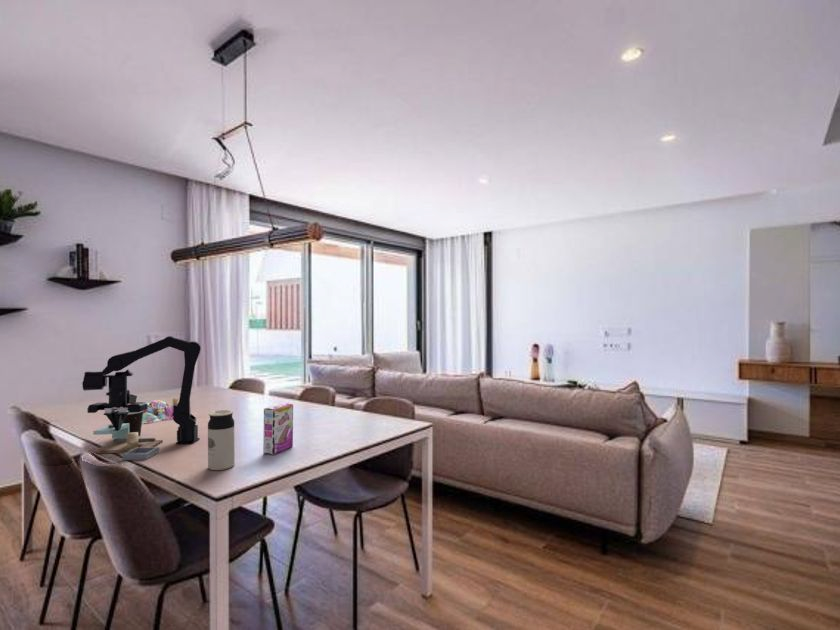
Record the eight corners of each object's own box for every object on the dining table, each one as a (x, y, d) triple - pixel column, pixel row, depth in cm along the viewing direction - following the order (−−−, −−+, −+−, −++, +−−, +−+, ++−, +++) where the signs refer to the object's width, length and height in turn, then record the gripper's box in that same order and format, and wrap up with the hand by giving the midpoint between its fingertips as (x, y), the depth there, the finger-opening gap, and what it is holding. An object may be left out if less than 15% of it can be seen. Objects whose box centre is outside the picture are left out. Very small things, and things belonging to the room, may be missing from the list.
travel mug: (230, 461, 153) (229, 408, 152) (238, 467, 146) (237, 412, 146) (205, 466, 147) (204, 411, 147) (212, 472, 141) (211, 415, 141)
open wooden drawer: (162, 442, 175) (162, 437, 175) (144, 452, 163) (144, 446, 163) (115, 443, 174) (115, 438, 174) (93, 453, 162) (93, 447, 162)
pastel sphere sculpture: (145, 413, 230) (145, 395, 230) (191, 412, 230) (191, 394, 230) (111, 425, 205) (111, 405, 205) (163, 424, 205) (162, 404, 205)
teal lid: (129, 437, 174) (129, 421, 174) (110, 446, 163) (110, 428, 163) (113, 437, 174) (113, 421, 174) (93, 446, 163) (93, 429, 162)
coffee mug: (121, 434, 187) (121, 410, 187) (145, 432, 190) (145, 409, 190) (113, 442, 176) (113, 416, 176) (139, 439, 179) (139, 414, 179)
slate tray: (158, 452, 162) (158, 447, 162) (146, 459, 154) (146, 453, 154) (136, 452, 162) (136, 447, 162) (122, 460, 154) (122, 454, 154)
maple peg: (140, 447, 168) (140, 432, 168) (134, 450, 165) (134, 434, 165) (130, 448, 168) (130, 432, 168) (124, 451, 164) (124, 434, 164)
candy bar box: (274, 455, 158) (274, 409, 158) (262, 454, 160) (262, 408, 160) (294, 446, 169) (293, 403, 169) (283, 445, 171) (282, 402, 170)
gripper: (155, 385, 174) (155, 424, 175) (106, 385, 174) (106, 425, 174) (138, 389, 163) (138, 432, 163) (86, 390, 163) (86, 433, 163)
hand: (118, 430), depth 166 cm, fingers closed
